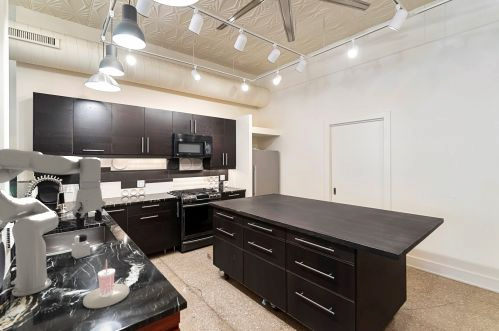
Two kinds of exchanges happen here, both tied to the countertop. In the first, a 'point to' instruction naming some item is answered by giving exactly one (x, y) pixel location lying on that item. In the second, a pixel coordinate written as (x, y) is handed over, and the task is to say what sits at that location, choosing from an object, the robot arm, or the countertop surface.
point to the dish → (97, 301)
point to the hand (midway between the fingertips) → (89, 224)
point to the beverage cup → (106, 281)
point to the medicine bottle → (80, 246)
